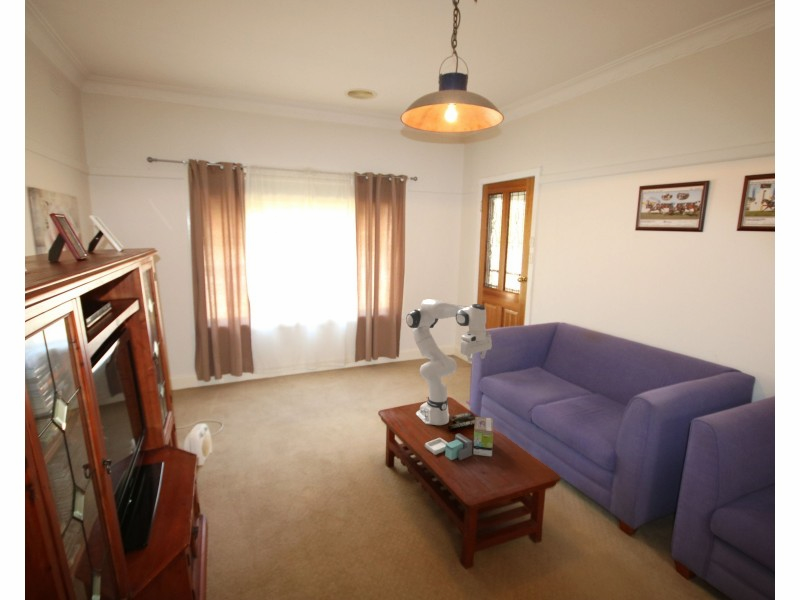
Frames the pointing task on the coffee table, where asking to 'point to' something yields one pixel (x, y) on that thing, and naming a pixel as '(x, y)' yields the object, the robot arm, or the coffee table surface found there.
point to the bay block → (464, 446)
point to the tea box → (483, 436)
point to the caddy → (453, 449)
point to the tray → (436, 446)
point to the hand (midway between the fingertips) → (476, 359)
